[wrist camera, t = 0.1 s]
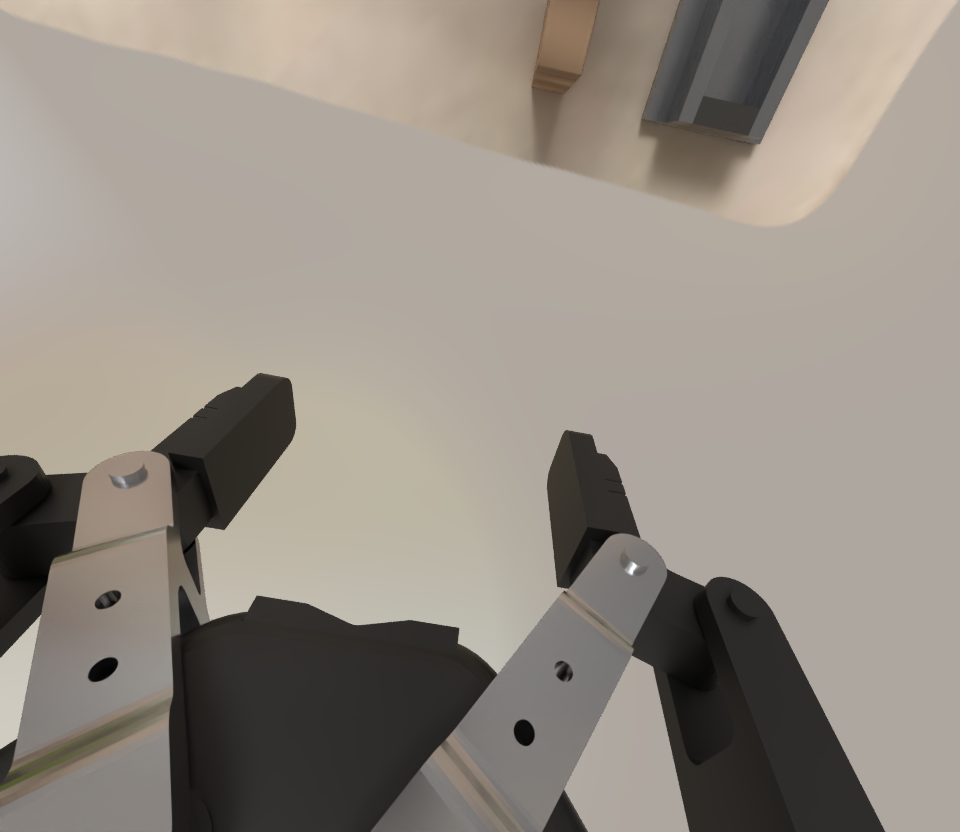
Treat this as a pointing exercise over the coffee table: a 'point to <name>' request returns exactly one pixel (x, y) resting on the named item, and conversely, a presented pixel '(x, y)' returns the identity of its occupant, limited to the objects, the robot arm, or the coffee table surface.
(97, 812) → the robot arm
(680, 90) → the bottom track
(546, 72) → the door panel
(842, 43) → the coffee table surface
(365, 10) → the coffee table surface
